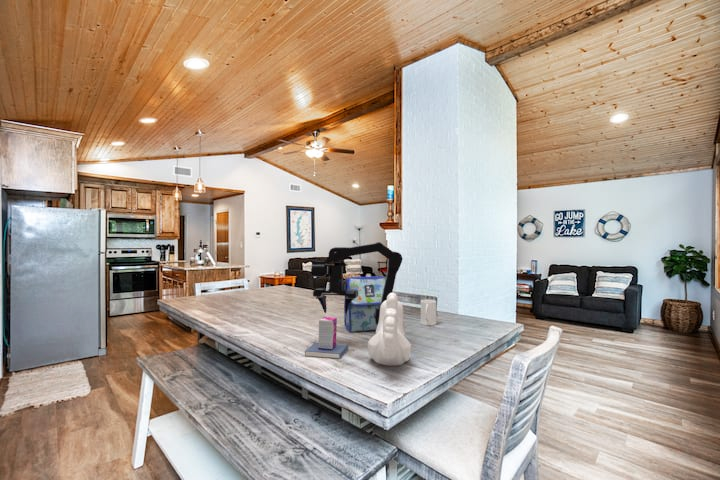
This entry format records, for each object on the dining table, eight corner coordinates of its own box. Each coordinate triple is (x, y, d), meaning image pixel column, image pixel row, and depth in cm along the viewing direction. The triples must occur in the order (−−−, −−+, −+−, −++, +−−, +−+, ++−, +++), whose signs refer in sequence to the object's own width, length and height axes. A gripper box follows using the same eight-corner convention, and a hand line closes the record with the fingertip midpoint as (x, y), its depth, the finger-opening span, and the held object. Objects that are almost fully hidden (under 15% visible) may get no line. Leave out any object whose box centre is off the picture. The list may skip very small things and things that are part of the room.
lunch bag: (349, 334, 162) (349, 278, 162) (342, 325, 178) (342, 275, 178) (394, 331, 167) (394, 277, 167) (383, 323, 184) (383, 274, 184)
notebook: (347, 349, 139) (347, 344, 139) (340, 359, 129) (340, 353, 129) (314, 347, 143) (314, 342, 143) (304, 356, 132) (304, 351, 132)
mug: (433, 327, 175) (433, 303, 175) (416, 325, 178) (416, 302, 178) (438, 322, 186) (438, 300, 186) (422, 320, 189) (422, 299, 189)
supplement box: (332, 350, 132) (332, 320, 132) (317, 349, 133) (317, 319, 133) (336, 346, 138) (336, 317, 138) (322, 345, 139) (322, 316, 139)
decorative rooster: (375, 352, 137) (375, 289, 137) (415, 356, 132) (415, 291, 132) (354, 375, 113) (354, 299, 113) (402, 381, 108) (401, 302, 108)
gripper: (361, 275, 153) (361, 310, 153) (321, 274, 157) (321, 308, 157) (355, 278, 142) (355, 316, 142) (312, 276, 146) (312, 313, 146)
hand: (335, 313), depth 147 cm, fingers open, 9 cm apart
